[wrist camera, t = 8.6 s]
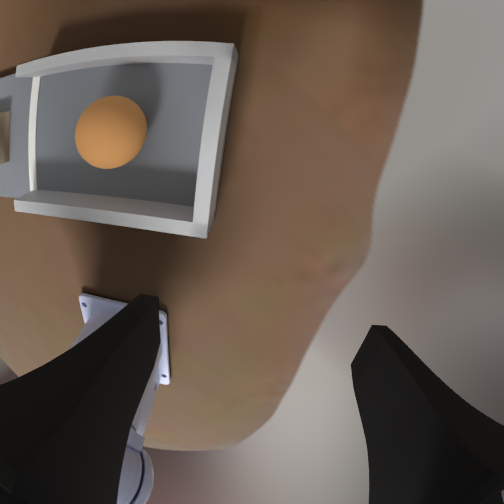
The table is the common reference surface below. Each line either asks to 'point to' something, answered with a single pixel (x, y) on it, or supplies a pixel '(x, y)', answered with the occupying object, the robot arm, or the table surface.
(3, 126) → the frame
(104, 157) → the ball
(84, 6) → the table surface
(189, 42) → the tray
